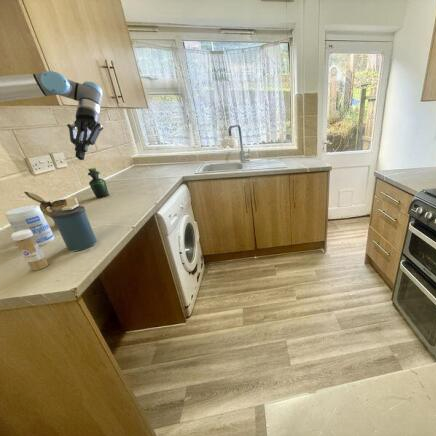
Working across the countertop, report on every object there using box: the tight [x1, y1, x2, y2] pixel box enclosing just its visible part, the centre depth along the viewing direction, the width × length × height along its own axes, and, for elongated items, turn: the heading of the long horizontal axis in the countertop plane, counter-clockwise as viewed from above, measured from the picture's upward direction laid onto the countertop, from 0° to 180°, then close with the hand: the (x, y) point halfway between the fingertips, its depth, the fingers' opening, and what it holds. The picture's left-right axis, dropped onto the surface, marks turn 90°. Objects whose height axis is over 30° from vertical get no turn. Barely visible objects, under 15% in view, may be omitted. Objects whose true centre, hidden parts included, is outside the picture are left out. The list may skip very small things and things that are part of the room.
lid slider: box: [61, 197, 80, 210], centre depth 90 cm, size 4×3×3 cm
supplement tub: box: [4, 205, 55, 247], centre depth 96 cm, size 10×10×15 cm
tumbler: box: [51, 205, 97, 253], centre depth 93 cm, size 10×10×15 cm
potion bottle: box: [87, 167, 110, 199], centre depth 150 cm, size 8×8×18 cm
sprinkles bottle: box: [10, 230, 50, 271], centre depth 80 cm, size 5×5×13 cm
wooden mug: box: [23, 191, 67, 227], centre depth 112 cm, size 9×14×18 cm, turn 126°
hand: (79, 157), depth 99 cm, fingers closed
